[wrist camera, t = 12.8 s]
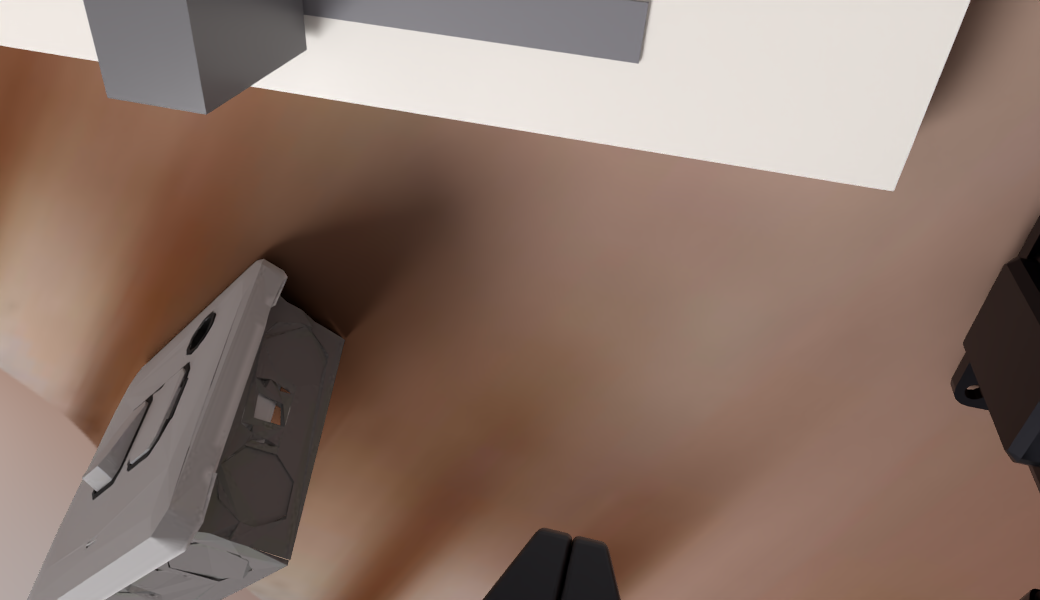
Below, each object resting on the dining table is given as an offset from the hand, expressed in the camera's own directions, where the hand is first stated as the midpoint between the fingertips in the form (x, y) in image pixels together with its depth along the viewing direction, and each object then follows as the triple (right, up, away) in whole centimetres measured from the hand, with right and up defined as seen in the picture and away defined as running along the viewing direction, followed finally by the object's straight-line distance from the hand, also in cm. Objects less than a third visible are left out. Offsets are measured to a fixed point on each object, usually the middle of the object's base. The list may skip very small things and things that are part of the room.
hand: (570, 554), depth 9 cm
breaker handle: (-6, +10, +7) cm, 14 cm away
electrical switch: (-10, +1, +17) cm, 20 cm away
